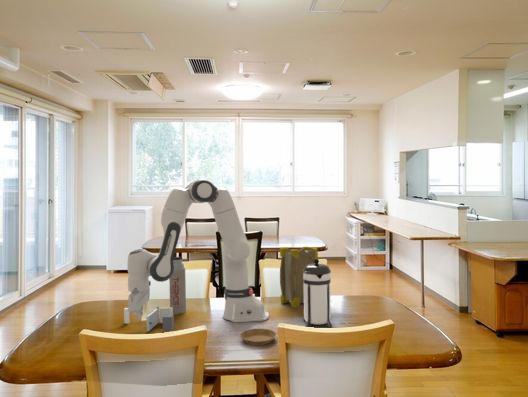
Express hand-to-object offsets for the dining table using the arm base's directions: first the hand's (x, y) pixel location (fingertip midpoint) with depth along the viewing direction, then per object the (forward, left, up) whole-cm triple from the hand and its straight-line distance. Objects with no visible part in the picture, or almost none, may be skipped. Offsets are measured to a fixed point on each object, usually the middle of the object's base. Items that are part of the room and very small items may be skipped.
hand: (139, 316), depth 190 cm
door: (-6, -2, -5) cm, 8 cm away
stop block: (-14, +3, -6) cm, 15 cm away
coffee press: (-80, -6, -6) cm, 80 cm away
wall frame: (-2, -9, -6) cm, 11 cm away
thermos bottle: (-12, -26, -6) cm, 29 cm away
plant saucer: (-54, +15, -6) cm, 56 cm away
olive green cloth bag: (-75, -41, -6) cm, 85 cm away
